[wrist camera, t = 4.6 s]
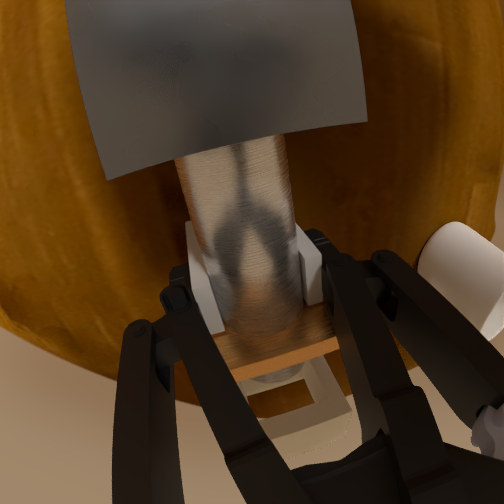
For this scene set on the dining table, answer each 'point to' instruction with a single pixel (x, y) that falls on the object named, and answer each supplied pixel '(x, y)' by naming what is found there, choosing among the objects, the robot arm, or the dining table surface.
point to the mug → (467, 275)
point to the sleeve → (211, 73)
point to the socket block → (306, 411)
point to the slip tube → (254, 259)
